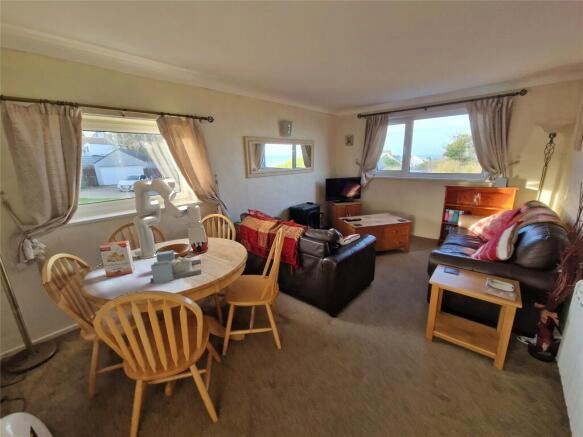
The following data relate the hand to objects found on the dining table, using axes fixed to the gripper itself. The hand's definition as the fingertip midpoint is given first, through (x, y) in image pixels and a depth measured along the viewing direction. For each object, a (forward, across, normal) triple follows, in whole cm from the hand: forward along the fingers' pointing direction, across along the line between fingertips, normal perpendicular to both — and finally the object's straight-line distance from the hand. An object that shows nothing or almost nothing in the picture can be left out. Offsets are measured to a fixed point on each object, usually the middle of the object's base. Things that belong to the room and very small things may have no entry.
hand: (199, 251), depth 152 cm
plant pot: (+12, 0, +30) cm, 33 cm away
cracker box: (+11, -48, +14) cm, 52 cm away
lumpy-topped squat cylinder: (+12, -12, 0) cm, 17 cm away
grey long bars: (+12, -14, 0) cm, 19 cm away
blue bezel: (+11, -22, 0) cm, 24 cm away
